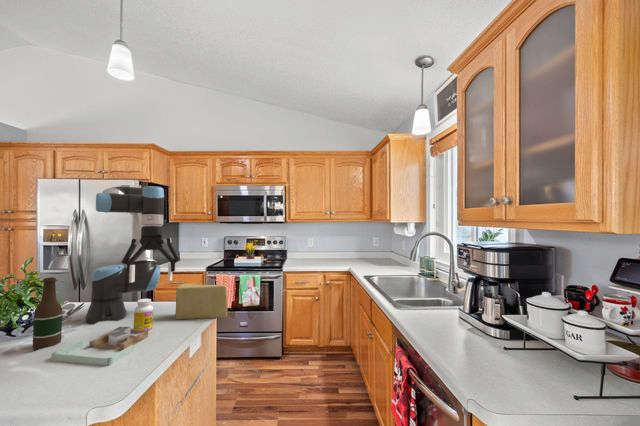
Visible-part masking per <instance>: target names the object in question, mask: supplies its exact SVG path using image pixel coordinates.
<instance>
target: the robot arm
mask: <svg viewBox="0 0 640 426" xmlns="http://www.w3.org/2000/svg"><path fill="white" fill-rule="evenodd" d="M164 191H165V190H164V188H163V187H161V186H155V185H154V186H153V185H149V186H148V185H147V186H143V187H136V186H124V185H123V186H122V185H121V186H120V185H119V186H113V187H112V186H111V187H108V188H106V189H104V190H103V191H102V192H98V193H96V194H95V211H97V212H98V213H123V214H124V213H126V214H128V213H129V214H130V215H131V216H132V239H131V241H130V242H131V243H130V246H129V247H128V249H127V250H126V253H125V255H124V256H123V258H122V260H121V263H122V264H111V265H105V266H102V267H98V268H96V269H94V270H93V272H92V273H91V275H92V276H91V292H90V293H91V296H90V304H89V306H88V309H87V313H86V315H85V321H84V322H85V323H87V324H93V325H95V324H98V323H101V322H117V321H120V320H123V319H124V318H126V316H127V309H126V306H125V303H124V299H123V295H124V294H129V293H138V292H148V291H149V292H150V291H154V290H156V289H157V288H158V285H159V281H160V277H161V276H160V275H161V266H160V265H159V264H158V265H157V260H155V259H154V258H153V257H154V254H153V252H154V251H157V250H158V251H159V252H160V253H161V255H163V256H164V257H165V259H166V260H167V261H168V262H170V263H168V264H167V265H168V266H167V270H168V271H167V281H168V282H171V281H173V273H174V272H175V271H176V263H178V262H180V261H181V258H180V256H179V254H178V252H177V249H176V248H175V246H174V244H173V239H172V237H168V238H164V227H163V226H164V204H165V203H164V202H165V201H164V200H165V192H164ZM164 243H165V244H166V245H167V247H168V249H169V251H170V253H171V254H172V255H171V254H170V253H169V252H168V251H167V250H166V249H165V247H164V246H163V244H164ZM124 265H126V267H125V266H124Z"/></svg>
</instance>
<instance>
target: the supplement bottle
mask: <svg viewBox="0 0 640 426" xmlns="http://www.w3.org/2000/svg"><path fill="white" fill-rule="evenodd" d="M151 303H152V299H151V298H140V299H138V300H137V306H135V308H134V310H133V311H134V313H133V314H134V315H133V331H132V332H133V333H135V334H140V333H142V332H144V331H148V333H149V332H150V331H153V327H154V326H153V325H154V307H153V305H151Z"/></svg>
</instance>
